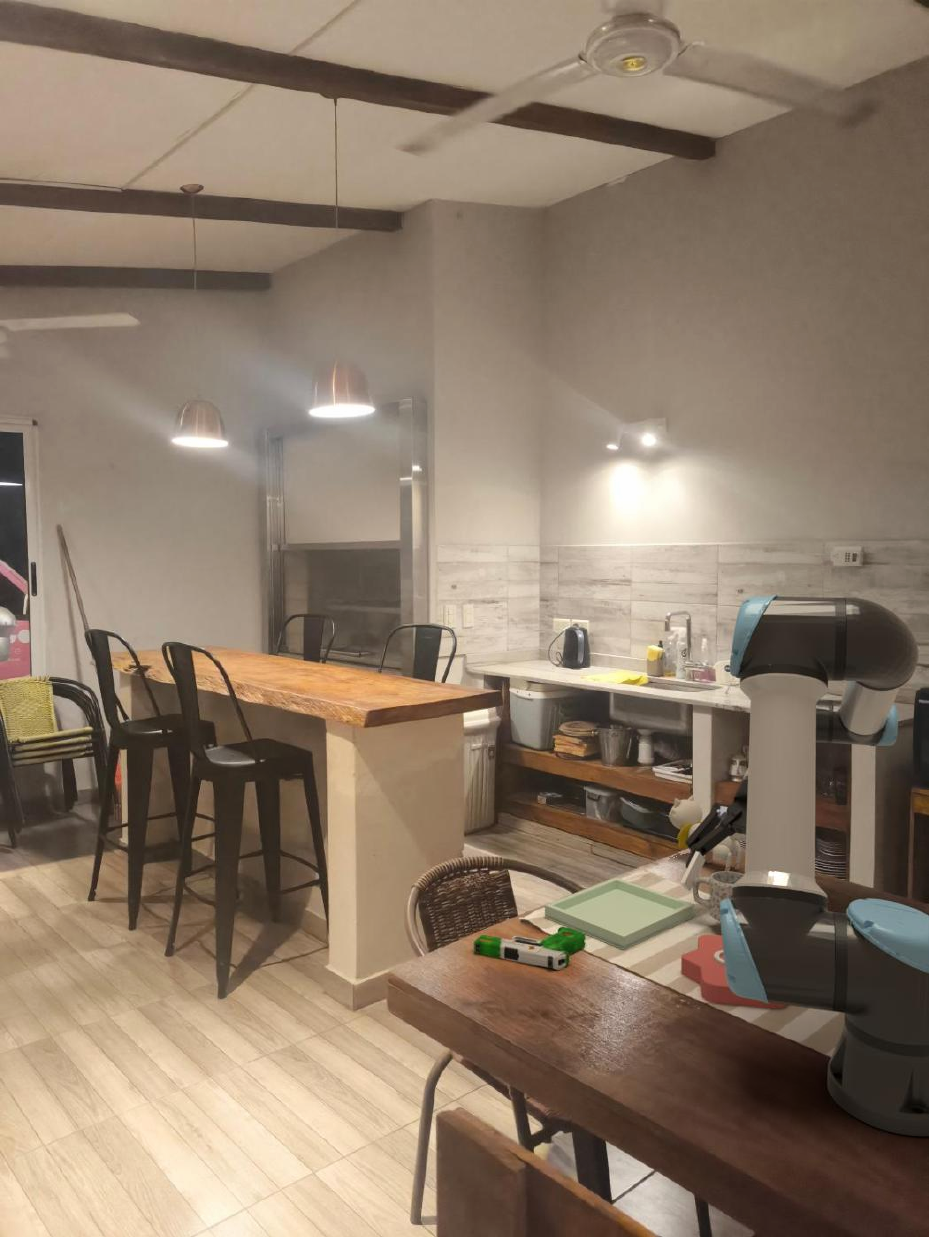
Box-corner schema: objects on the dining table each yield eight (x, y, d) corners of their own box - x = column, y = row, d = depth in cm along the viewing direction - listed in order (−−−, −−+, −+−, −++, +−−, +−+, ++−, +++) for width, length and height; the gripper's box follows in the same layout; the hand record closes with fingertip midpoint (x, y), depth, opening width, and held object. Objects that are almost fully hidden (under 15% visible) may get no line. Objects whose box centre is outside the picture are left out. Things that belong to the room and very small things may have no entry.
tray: (624, 950, 156) (624, 936, 155) (544, 917, 169) (544, 905, 169) (694, 916, 169) (694, 904, 169) (615, 888, 182) (615, 877, 182)
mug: (754, 913, 164) (755, 875, 163) (742, 925, 158) (743, 887, 158) (699, 900, 169) (699, 865, 169) (685, 913, 164) (686, 875, 163)
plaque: (680, 928, 156) (774, 935, 153) (679, 950, 156) (773, 958, 153) (683, 978, 139) (789, 987, 136) (682, 1003, 139) (788, 1013, 136)
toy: (688, 850, 204) (689, 782, 202) (765, 874, 189) (767, 801, 188) (662, 859, 198) (662, 790, 197) (739, 885, 184) (741, 810, 182)
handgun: (502, 914, 165) (472, 939, 154) (587, 930, 158) (562, 957, 147) (502, 931, 165) (472, 957, 155) (587, 947, 158) (562, 975, 147)
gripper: (827, 813, 164) (778, 925, 155) (716, 788, 181) (666, 888, 172) (813, 789, 160) (761, 902, 151) (701, 766, 177) (648, 867, 168)
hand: (710, 895), depth 161 cm, fingers closed on mug, 10 cm apart
